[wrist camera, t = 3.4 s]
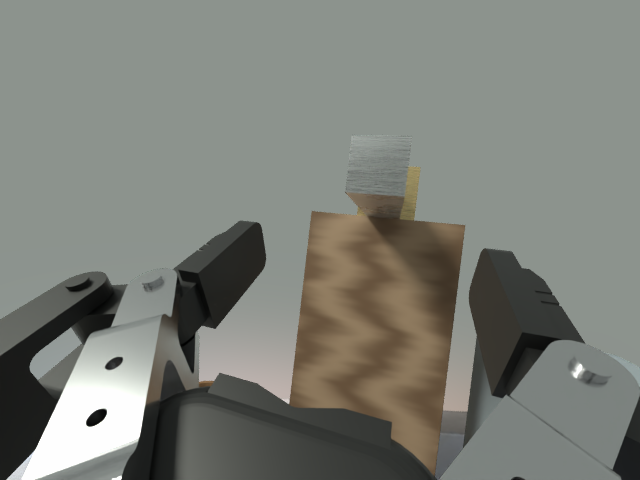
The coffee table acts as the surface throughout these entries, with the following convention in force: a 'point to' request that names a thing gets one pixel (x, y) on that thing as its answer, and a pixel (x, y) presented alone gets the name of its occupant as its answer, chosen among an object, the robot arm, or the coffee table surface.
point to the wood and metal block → (382, 177)
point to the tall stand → (379, 322)
